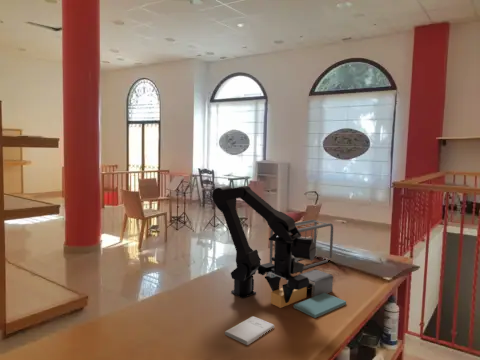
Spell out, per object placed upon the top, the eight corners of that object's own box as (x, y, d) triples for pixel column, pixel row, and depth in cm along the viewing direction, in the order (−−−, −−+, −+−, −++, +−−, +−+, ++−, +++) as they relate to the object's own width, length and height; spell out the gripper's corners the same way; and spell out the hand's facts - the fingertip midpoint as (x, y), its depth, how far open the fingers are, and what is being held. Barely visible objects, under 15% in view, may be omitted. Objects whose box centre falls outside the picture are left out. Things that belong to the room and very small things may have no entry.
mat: (315, 318, 115) (315, 314, 115) (293, 307, 122) (293, 304, 122) (346, 304, 125) (346, 301, 125) (324, 295, 132) (324, 292, 132)
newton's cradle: (314, 255, 178) (315, 218, 176) (332, 261, 170) (334, 222, 168) (268, 268, 159) (269, 227, 157) (286, 275, 151) (288, 232, 149)
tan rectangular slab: (280, 308, 121) (280, 296, 121) (270, 303, 125) (271, 291, 124) (306, 297, 130) (306, 286, 129) (296, 293, 133) (297, 282, 133)
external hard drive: (224, 336, 105) (252, 320, 114) (247, 347, 99) (274, 329, 109) (224, 330, 104) (252, 315, 114) (247, 341, 99) (274, 324, 109)
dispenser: (312, 298, 129) (313, 282, 128) (295, 291, 135) (296, 275, 134) (332, 291, 136) (332, 275, 135) (314, 284, 142) (315, 269, 141)
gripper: (321, 257, 121) (319, 303, 123) (280, 244, 135) (279, 285, 137) (297, 264, 114) (296, 313, 116) (257, 249, 128) (256, 293, 130)
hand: (281, 300), depth 125 cm, fingers closed on tan rectangular slab, 4 cm apart
